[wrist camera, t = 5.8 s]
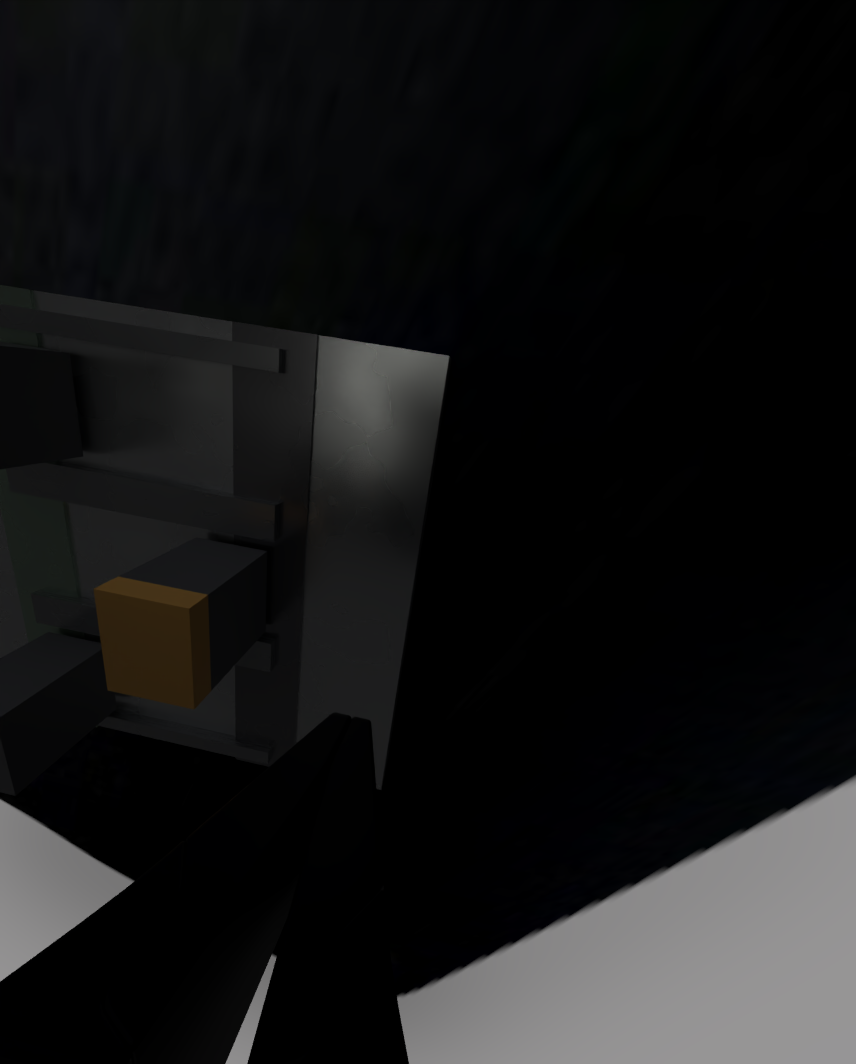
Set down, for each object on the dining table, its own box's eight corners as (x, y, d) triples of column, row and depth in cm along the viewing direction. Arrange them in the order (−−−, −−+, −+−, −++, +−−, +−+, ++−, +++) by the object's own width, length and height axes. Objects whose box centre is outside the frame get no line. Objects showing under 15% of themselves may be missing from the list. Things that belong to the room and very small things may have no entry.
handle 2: (108, 644, 15) (-4, 719, 11) (116, 708, 16) (15, 795, 12) (48, 631, 15) (-81, 702, 12) (60, 695, 16) (-56, 778, 13)
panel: (451, 359, 12) (448, 354, 10) (386, 767, 17) (378, 799, 16) (-109, 270, 13) (-177, 256, 12) (-6, 679, 18) (-44, 702, 17)
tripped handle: (267, 551, 13) (188, 608, 9) (265, 630, 14) (194, 709, 10) (196, 537, 13) (93, 589, 10) (199, 617, 14) (107, 690, 11)
